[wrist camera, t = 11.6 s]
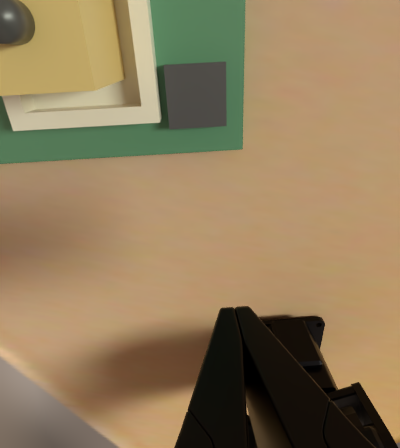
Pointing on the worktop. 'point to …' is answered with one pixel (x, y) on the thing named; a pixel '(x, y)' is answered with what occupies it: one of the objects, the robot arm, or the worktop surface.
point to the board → (144, 90)
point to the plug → (58, 46)
